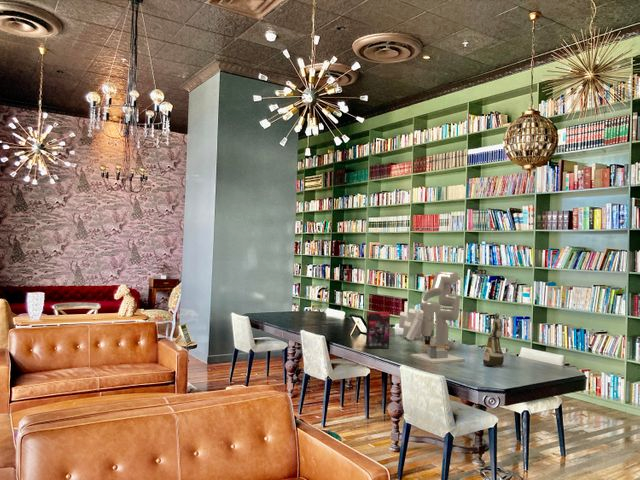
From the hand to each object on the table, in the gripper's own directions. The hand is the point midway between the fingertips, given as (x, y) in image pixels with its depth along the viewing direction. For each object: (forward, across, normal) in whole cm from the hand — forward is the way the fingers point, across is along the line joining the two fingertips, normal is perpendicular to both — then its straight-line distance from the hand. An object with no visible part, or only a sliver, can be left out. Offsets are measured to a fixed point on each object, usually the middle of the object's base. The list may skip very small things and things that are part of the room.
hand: (427, 345), depth 360 cm
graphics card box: (+8, -34, -20) cm, 40 cm away
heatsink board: (+7, +11, 0) cm, 13 cm away
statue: (+8, +39, +24) cm, 46 cm away
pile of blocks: (+8, -61, +35) cm, 71 cm away
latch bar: (0, +6, +3) cm, 7 cm away
